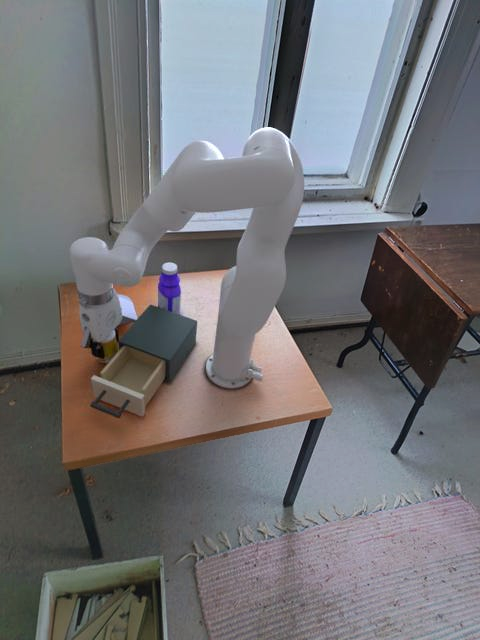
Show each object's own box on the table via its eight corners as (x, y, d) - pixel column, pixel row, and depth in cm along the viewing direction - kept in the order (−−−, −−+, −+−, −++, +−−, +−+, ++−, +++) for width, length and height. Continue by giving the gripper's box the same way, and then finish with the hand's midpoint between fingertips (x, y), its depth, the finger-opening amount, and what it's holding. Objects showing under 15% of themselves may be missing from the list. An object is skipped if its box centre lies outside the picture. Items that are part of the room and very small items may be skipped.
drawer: (131, 433, 89) (129, 416, 84) (81, 412, 91) (76, 394, 87) (172, 373, 103) (172, 354, 98) (127, 356, 105) (126, 337, 101)
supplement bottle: (122, 358, 104) (118, 329, 97) (101, 367, 101) (96, 338, 94) (112, 344, 107) (108, 316, 100) (92, 353, 104) (86, 324, 97)
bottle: (183, 319, 120) (185, 271, 108) (165, 325, 117) (166, 276, 105) (172, 304, 124) (173, 256, 112) (154, 310, 121) (153, 261, 109)
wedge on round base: (139, 329, 114) (129, 301, 122) (138, 312, 109) (128, 283, 118) (106, 336, 111) (98, 305, 119) (103, 317, 106) (95, 287, 115)
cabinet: (169, 383, 102) (169, 360, 96) (120, 364, 104) (117, 340, 98) (195, 343, 113) (197, 320, 107) (150, 327, 115) (150, 304, 110)
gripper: (87, 320, 83) (98, 377, 95) (131, 276, 95) (137, 331, 107) (56, 309, 84) (71, 366, 97) (104, 267, 97) (112, 322, 109)
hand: (105, 347), depth 102 cm, fingers closed on supplement bottle, 5 cm apart
